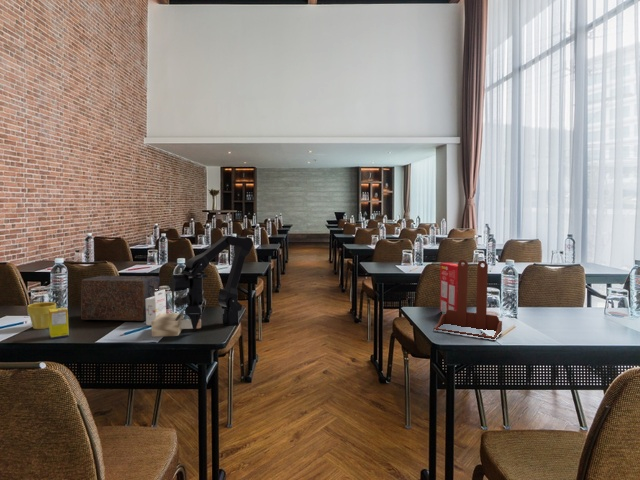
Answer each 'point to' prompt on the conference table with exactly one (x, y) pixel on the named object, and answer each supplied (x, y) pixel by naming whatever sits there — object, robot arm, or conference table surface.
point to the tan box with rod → (167, 324)
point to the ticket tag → (189, 324)
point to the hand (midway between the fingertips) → (196, 326)
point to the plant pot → (40, 314)
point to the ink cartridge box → (155, 306)
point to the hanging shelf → (480, 317)
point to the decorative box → (117, 297)
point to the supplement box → (58, 323)
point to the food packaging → (448, 286)
